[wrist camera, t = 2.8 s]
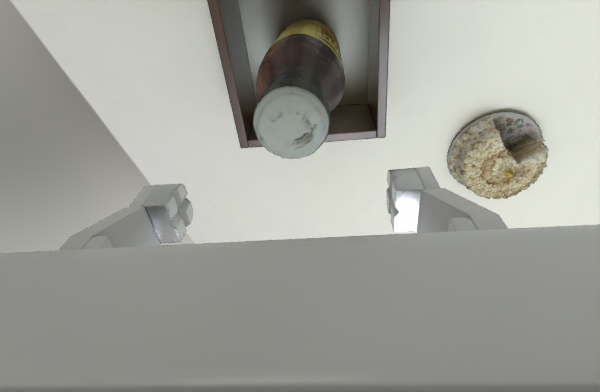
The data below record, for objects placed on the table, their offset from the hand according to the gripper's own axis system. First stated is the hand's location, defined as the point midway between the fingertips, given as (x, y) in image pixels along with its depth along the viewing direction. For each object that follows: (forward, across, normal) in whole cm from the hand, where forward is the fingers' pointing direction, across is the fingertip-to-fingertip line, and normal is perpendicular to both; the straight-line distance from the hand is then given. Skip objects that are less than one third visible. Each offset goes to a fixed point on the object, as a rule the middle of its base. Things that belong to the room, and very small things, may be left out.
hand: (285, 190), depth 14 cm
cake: (+25, -20, +13) cm, 35 cm away
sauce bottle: (+25, 0, 0) cm, 25 cm away
